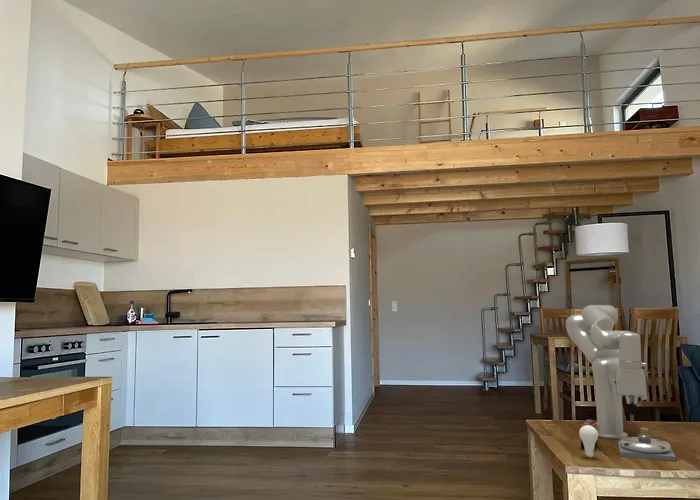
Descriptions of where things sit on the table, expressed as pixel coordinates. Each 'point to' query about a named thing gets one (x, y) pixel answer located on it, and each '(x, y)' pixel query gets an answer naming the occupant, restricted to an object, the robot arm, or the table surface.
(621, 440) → the round tabbed tray
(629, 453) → the base plate
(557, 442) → the table surface
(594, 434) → the lightbulb
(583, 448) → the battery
